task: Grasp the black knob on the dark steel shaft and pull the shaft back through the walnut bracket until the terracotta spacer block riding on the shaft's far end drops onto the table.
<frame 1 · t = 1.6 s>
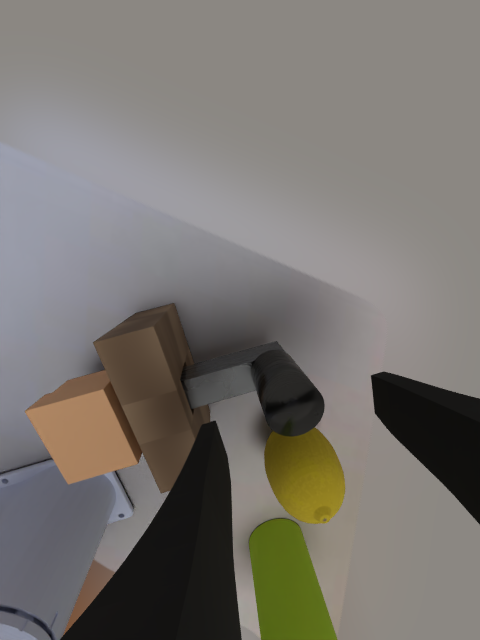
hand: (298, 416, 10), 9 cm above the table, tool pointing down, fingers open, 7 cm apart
spacer: (111, 401, 16), point 3 cm above the table, touching shaft
lemon: (284, 427, 22), on the table
bracket: (175, 366, 19), on the table
shaft: (175, 407, 13), point 6 cm above the table, slide at 0.0 cm, touching spacer
soap dispenser: (277, 539, 26), on the table
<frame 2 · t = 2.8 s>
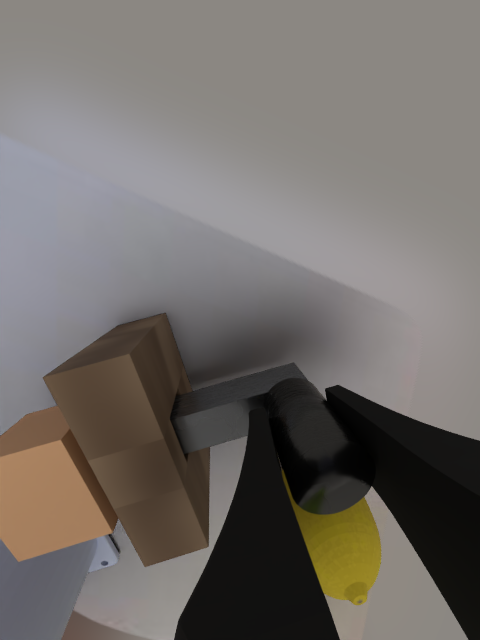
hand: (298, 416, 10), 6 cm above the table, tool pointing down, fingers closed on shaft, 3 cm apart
spacer: (84, 439, 13), point 3 cm above the table, touching shaft
lemon: (297, 457, 19), on the table
bracket: (167, 388, 16), on the table
shaft: (163, 457, 10), point 6 cm above the table, slide at 0.0 cm, touching gripper, spacer
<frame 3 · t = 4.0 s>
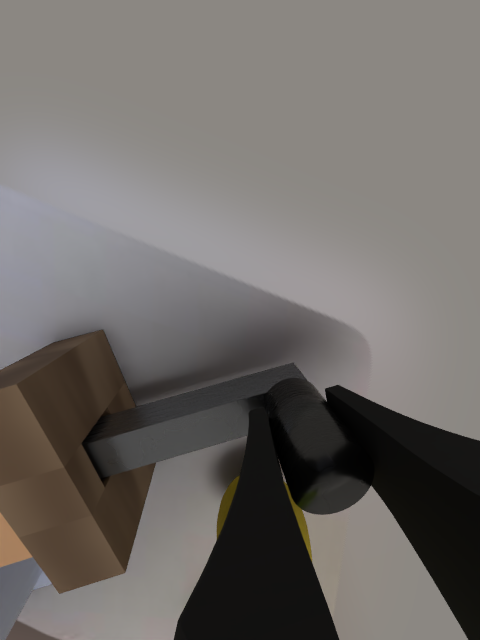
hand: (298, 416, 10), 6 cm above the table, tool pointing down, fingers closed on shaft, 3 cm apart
spacer: (20, 457, 12), point 3 cm above the table, touching bracket
lemon: (250, 471, 18), on the table
bracket: (110, 404, 15), on the table
shaft: (163, 457, 10), point 6 cm above the table, slide at 3.9 cm, touching gripper
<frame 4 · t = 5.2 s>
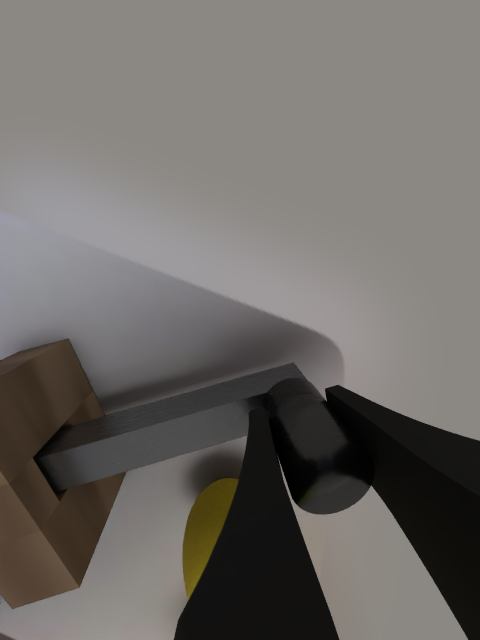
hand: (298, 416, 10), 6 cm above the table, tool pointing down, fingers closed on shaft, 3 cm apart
lemon: (225, 479, 18), on the table
bracket: (78, 414, 15), on the table
shaft: (163, 457, 10), point 6 cm above the table, slide at 6.0 cm, touching gripper
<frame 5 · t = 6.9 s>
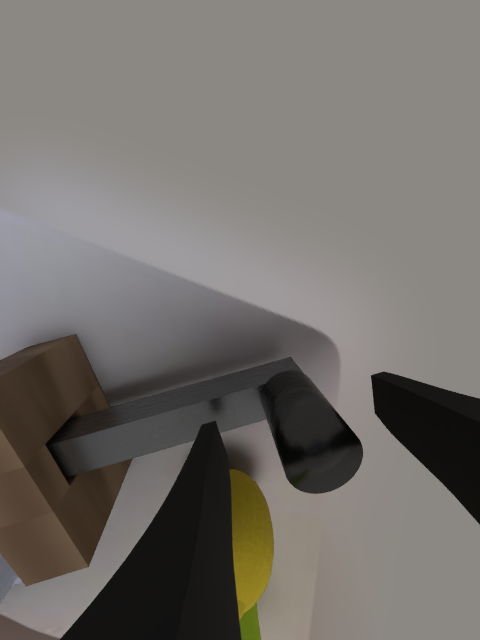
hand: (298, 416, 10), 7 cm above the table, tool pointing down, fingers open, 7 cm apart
lemon: (225, 470, 19), on the table
bracket: (85, 406, 16), on the table
shaft: (167, 444, 11), point 6 cm above the table, slide at 6.0 cm
soap dispenser: (226, 590, 23), on the table
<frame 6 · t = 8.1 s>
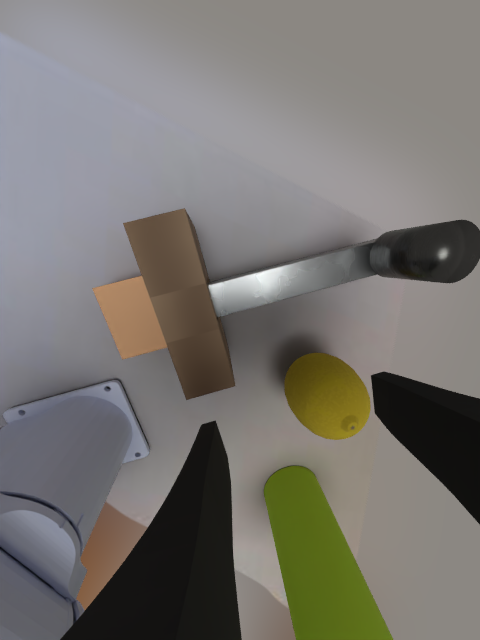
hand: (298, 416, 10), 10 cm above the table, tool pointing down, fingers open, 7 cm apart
spacer: (151, 307, 19), on the table
lemon: (302, 367, 22), on the table
bracket: (194, 295, 19), on the table
shaft: (304, 280, 13), point 6 cm above the table, slide at 6.0 cm
soap dispenser: (292, 489, 25), on the table
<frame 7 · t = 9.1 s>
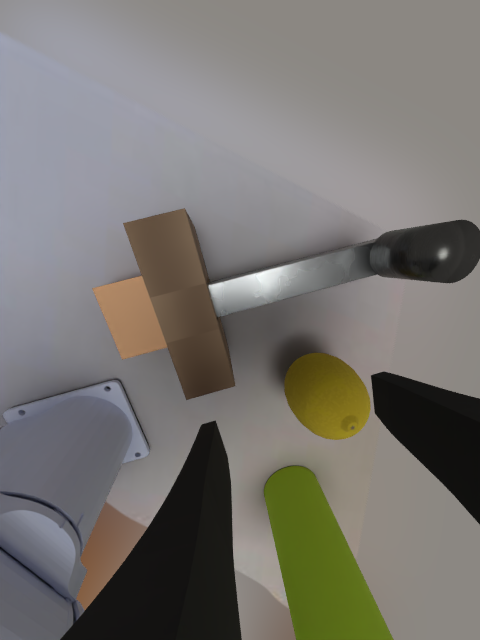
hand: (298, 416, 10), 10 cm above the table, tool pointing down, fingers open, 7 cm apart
spacer: (151, 307, 19), on the table
lemon: (302, 367, 22), on the table
bracket: (194, 295, 19), on the table
shaft: (304, 280, 13), point 6 cm above the table, slide at 6.0 cm
soap dispenser: (292, 489, 25), on the table
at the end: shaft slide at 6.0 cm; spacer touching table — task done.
